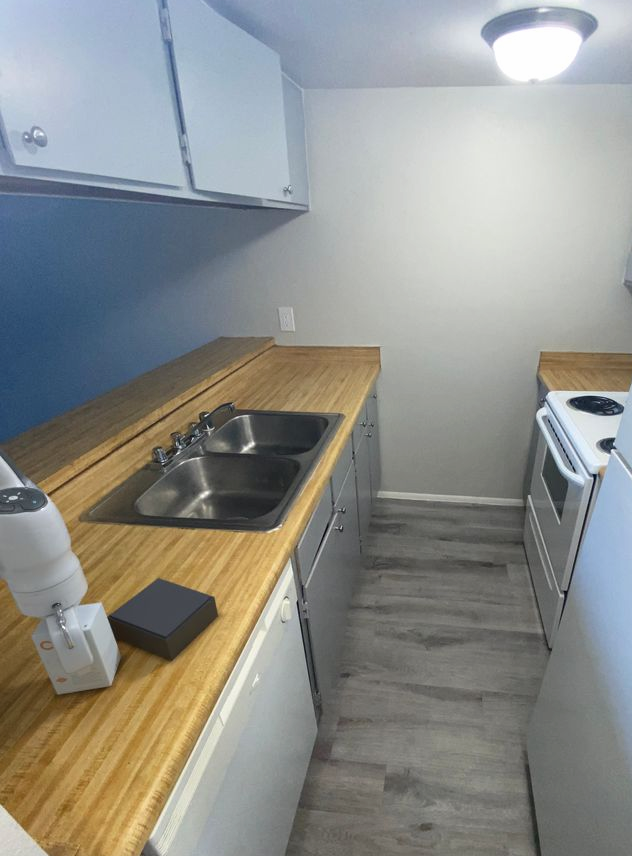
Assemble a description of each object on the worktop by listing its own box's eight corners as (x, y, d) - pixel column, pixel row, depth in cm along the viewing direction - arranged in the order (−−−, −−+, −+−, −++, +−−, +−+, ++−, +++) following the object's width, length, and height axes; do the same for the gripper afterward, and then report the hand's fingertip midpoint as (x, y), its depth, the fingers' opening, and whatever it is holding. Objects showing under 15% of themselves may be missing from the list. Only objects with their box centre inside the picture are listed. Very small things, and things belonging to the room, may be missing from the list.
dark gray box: (112, 637, 88) (105, 615, 85) (163, 596, 98) (158, 576, 95) (171, 661, 83) (165, 639, 81) (218, 616, 93) (214, 595, 91)
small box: (122, 657, 84) (103, 601, 78) (111, 687, 78) (90, 629, 72) (70, 664, 82) (47, 608, 76) (56, 695, 76) (29, 637, 70)
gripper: (89, 617, 66) (115, 684, 72) (64, 549, 80) (88, 610, 86) (34, 639, 62) (66, 707, 69) (18, 563, 76) (46, 626, 82)
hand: (78, 653), depth 78 cm, fingers closed on small box, 8 cm apart
